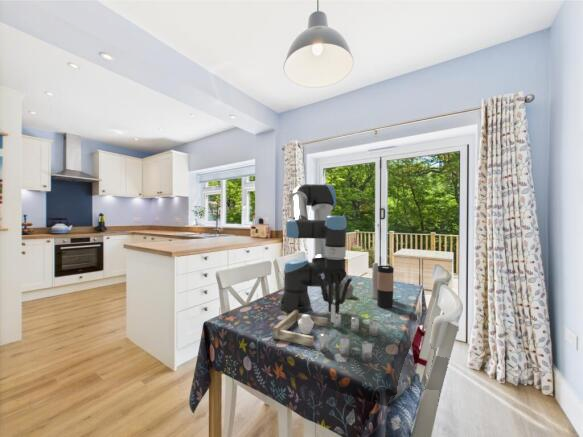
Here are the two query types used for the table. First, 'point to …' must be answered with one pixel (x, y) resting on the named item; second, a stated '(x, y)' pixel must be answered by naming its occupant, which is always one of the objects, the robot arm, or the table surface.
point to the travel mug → (385, 287)
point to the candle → (374, 280)
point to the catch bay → (292, 336)
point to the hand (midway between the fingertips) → (333, 320)
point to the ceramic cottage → (349, 292)
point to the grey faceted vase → (305, 324)
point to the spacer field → (345, 340)
